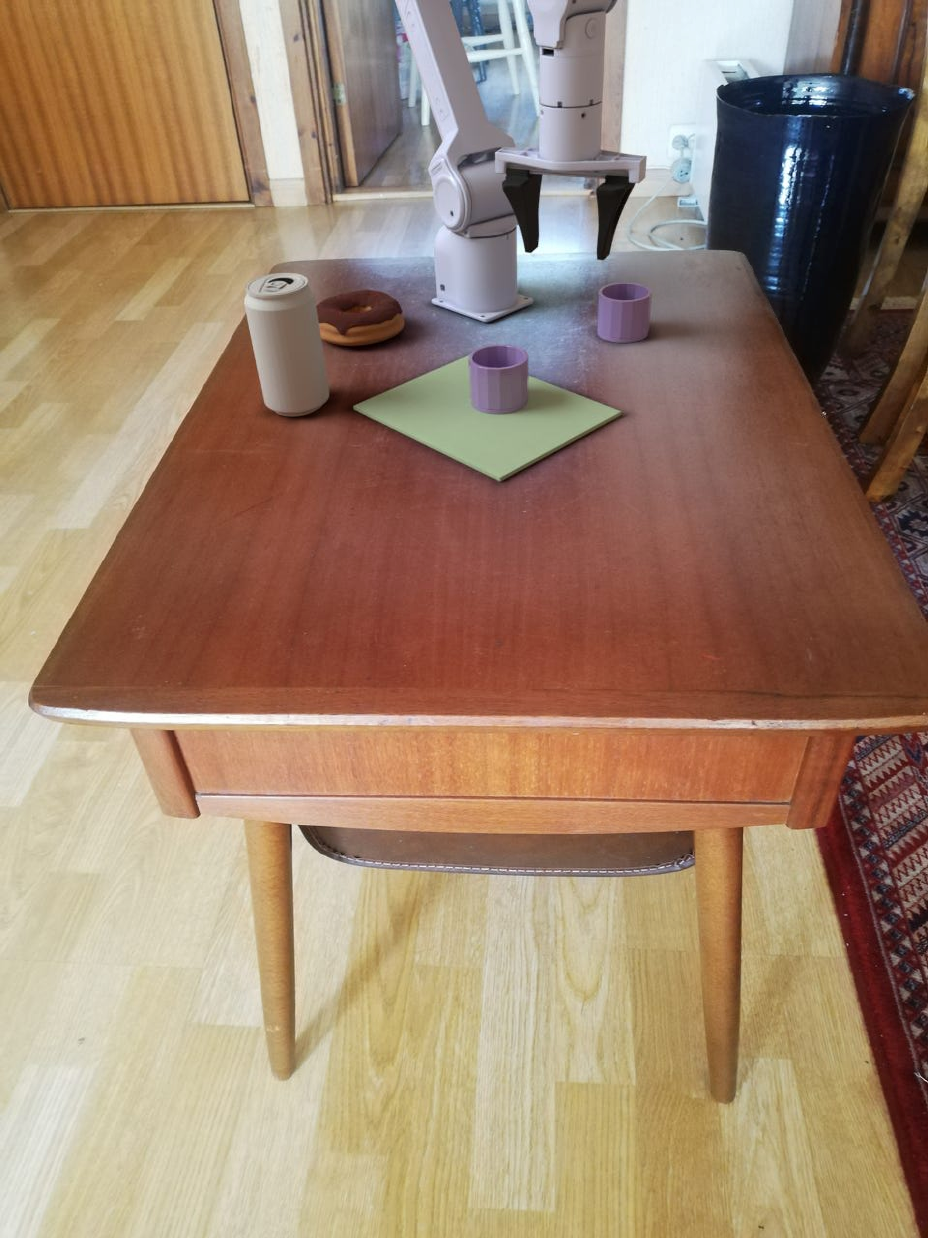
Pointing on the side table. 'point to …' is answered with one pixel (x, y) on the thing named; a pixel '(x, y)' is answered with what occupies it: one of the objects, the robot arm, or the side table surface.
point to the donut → (359, 318)
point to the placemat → (485, 420)
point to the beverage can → (287, 343)
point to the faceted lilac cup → (623, 312)
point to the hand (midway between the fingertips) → (567, 253)
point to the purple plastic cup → (498, 379)
